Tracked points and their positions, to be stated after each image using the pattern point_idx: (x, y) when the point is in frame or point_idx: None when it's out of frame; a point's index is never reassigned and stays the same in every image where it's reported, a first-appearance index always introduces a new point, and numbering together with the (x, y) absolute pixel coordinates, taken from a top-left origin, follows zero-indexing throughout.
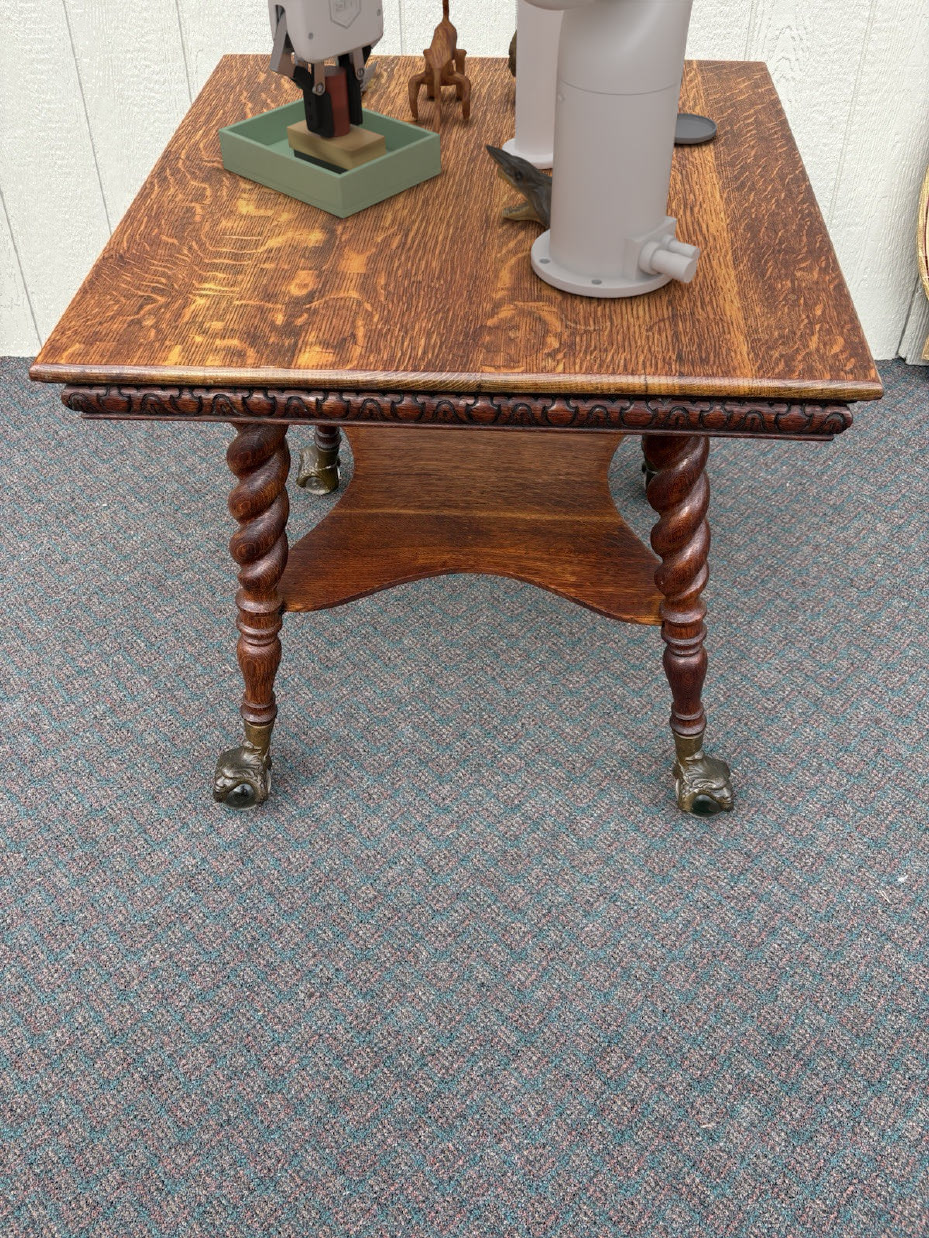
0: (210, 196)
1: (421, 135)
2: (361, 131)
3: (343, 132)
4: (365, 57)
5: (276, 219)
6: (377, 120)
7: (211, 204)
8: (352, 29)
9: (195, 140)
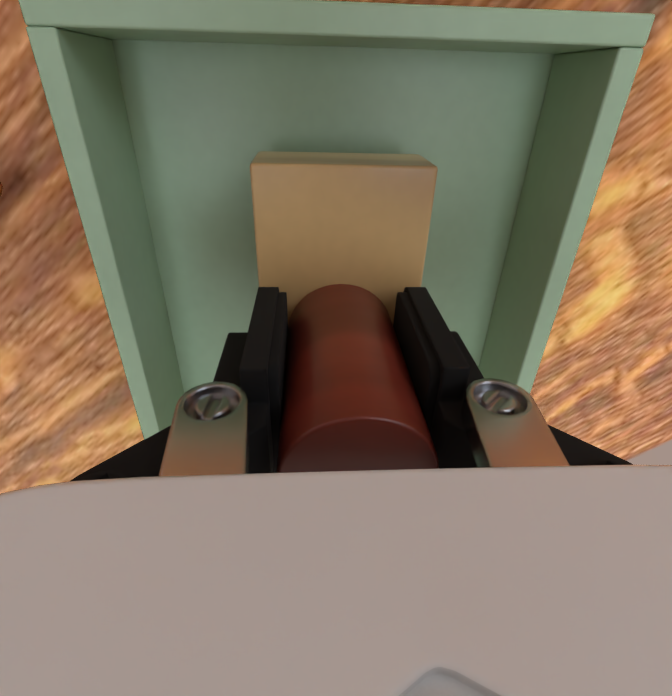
0: (579, 392)
1: (83, 99)
2: (281, 267)
3: (352, 288)
4: (124, 468)
5: (633, 200)
6: (140, 330)
7: (612, 365)
8: (342, 652)
9: None
